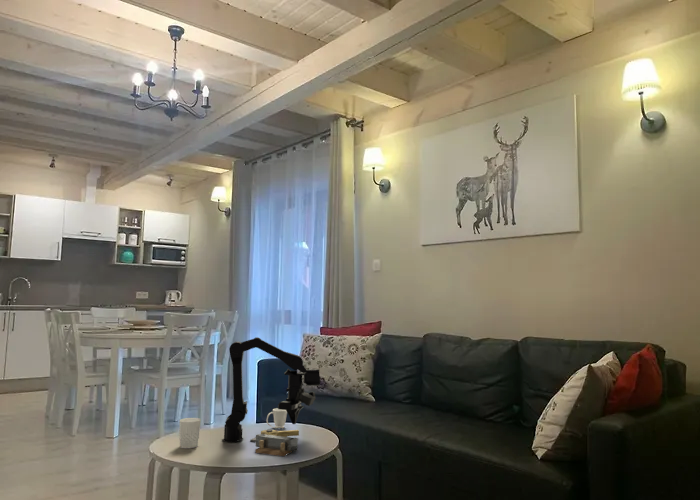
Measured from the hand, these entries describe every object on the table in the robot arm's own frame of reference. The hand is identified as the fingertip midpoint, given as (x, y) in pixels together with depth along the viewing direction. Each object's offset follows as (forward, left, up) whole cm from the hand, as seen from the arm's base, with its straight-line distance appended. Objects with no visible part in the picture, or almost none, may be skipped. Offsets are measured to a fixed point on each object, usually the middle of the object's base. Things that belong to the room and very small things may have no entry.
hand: (294, 424), depth 219 cm
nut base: (-9, -5, -6) cm, 12 cm away
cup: (-17, +16, -6) cm, 24 cm away
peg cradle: (+2, -19, -6) cm, 20 cm away
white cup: (-32, -27, -6) cm, 42 cm away
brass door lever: (-5, -2, -5) cm, 8 cm away
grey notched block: (+2, -19, -5) cm, 20 cm away
